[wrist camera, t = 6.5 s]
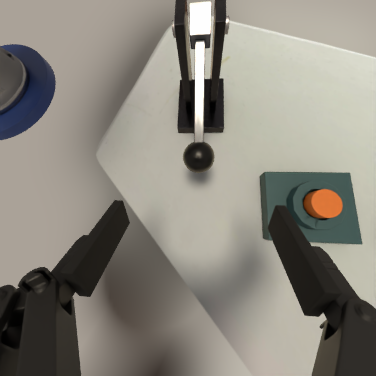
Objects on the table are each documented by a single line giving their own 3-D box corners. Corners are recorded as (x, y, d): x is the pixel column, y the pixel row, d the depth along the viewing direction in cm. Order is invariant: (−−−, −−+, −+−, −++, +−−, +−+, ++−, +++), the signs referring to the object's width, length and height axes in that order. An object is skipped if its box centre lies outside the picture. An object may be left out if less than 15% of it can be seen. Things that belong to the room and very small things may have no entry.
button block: (263, 238, 25) (274, 241, 21) (259, 175, 27) (269, 167, 23) (348, 242, 24) (376, 246, 20) (337, 176, 26) (362, 168, 22)
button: (304, 217, 22) (313, 217, 20) (301, 191, 22) (310, 188, 21) (333, 218, 21) (345, 218, 20) (329, 191, 22) (340, 189, 20)
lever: (212, 170, 23) (214, 175, 19) (185, 170, 23) (181, 174, 20) (217, 24, 19) (221, -8, 15) (184, 26, 19) (179, -4, 16)
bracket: (222, 132, 29) (243, 43, 15) (178, 132, 30) (156, 48, 15) (222, 85, 31) (240, -35, 17) (181, 86, 32) (163, -27, 17)
